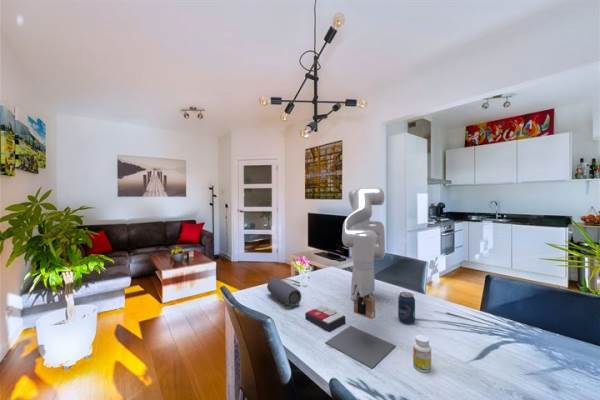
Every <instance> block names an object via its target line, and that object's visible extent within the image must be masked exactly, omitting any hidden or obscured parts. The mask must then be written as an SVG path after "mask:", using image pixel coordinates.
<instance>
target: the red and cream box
mask: <svg viewBox="0 0 600 400" xmlns="http://www.w3.org/2000/svg"><path fill="white" fill-rule="evenodd" d="M304 316H305V320H307V321H308V322H310V323H311V324H313V325H315V326H317V327H319V328H321V329H322V330H324V331H326V332H327V333H331V332H333V331H335V330H336V329H338V328H340V327H343V326H344V325H345V324H346V315H344V314H342V313H340V312H337V311H336V310H333V309H330V308H328V307H325V306H323V305H320V306H317V307H315V308H313V309H311V310H308V311H306V312H305V314H304Z"/></svg>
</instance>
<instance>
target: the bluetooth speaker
mask: <svg viewBox="0 0 600 400" xmlns="http://www.w3.org/2000/svg"><path fill="white" fill-rule="evenodd" d="M266 288H267V290H268V292H270V294H272V295H273V297H275V298H277V300H278V301H279V302H281V303H282V304H284V305H287V306H290V307H295V306H297V305H299V304H300V302H301V300H302V293H301V292H300V291H299V290H298V289H297V288H296V287H294V286H293V285H292V284H289V283H288V282H286V281H284V280H283V279H282V280H281V279H280V278H277V277H272V278H270V280H269V281H268V282H267V284H266Z"/></svg>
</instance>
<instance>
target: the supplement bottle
mask: <svg viewBox="0 0 600 400" xmlns="http://www.w3.org/2000/svg"><path fill="white" fill-rule="evenodd" d="M414 340H415V341H414V342H413V344H412V347H413V348H412V350H413V353H412V354H413V355H412V357H413V359H412V360H413V364H412V365H413V366H414V368H415V369H416V370H417V371H420V372H422V373H430V372H431V371H432V347H431V345H430V339H429V337H427V336H426V335H424V334H423V335H422V334H417V335H415V339H414Z"/></svg>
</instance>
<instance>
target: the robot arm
mask: <svg viewBox="0 0 600 400" xmlns="http://www.w3.org/2000/svg"><path fill="white" fill-rule="evenodd" d="M348 199H349V204H350V206H351V208H352V212H351V213H350V214H348V215H347V217H346V218H345V220H344V221H343V224H342V233H341V241H342V244H343V246H344V247H346V248H351V254H352V263H353V264H352V266H353V267H352V275H351V285H350V286H351V288H350V290H351V291H350V293H351V294H350V299H351V300H352V301H353V302H354V300H356V301H357V303H358V313H360V314H363V315H365V314H366V304H365V296H368V297H371V298H374V299H375V296H374V295H373V294H374V292H375V290H376V288H375V286H376V285H375V283H376V281H375V271H374V269H375V267H374V266H375V260H383V259H384V258H385V255H386V239H385V238H386V237H385V225H384V224H383V223H382V222H381V221H377V220H375V221H374V220H373V221H371V220H370V219H371V217H372V215H373V206H382V205H383V204H384V202H385V192H384V190H383V189H382V188H381V187H362V188H361V187H360V188H357V189H352V190H350V191H349V192H348ZM352 227H353V229H351V228H352ZM360 297H361V298H362V299H361V298H360Z"/></svg>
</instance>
